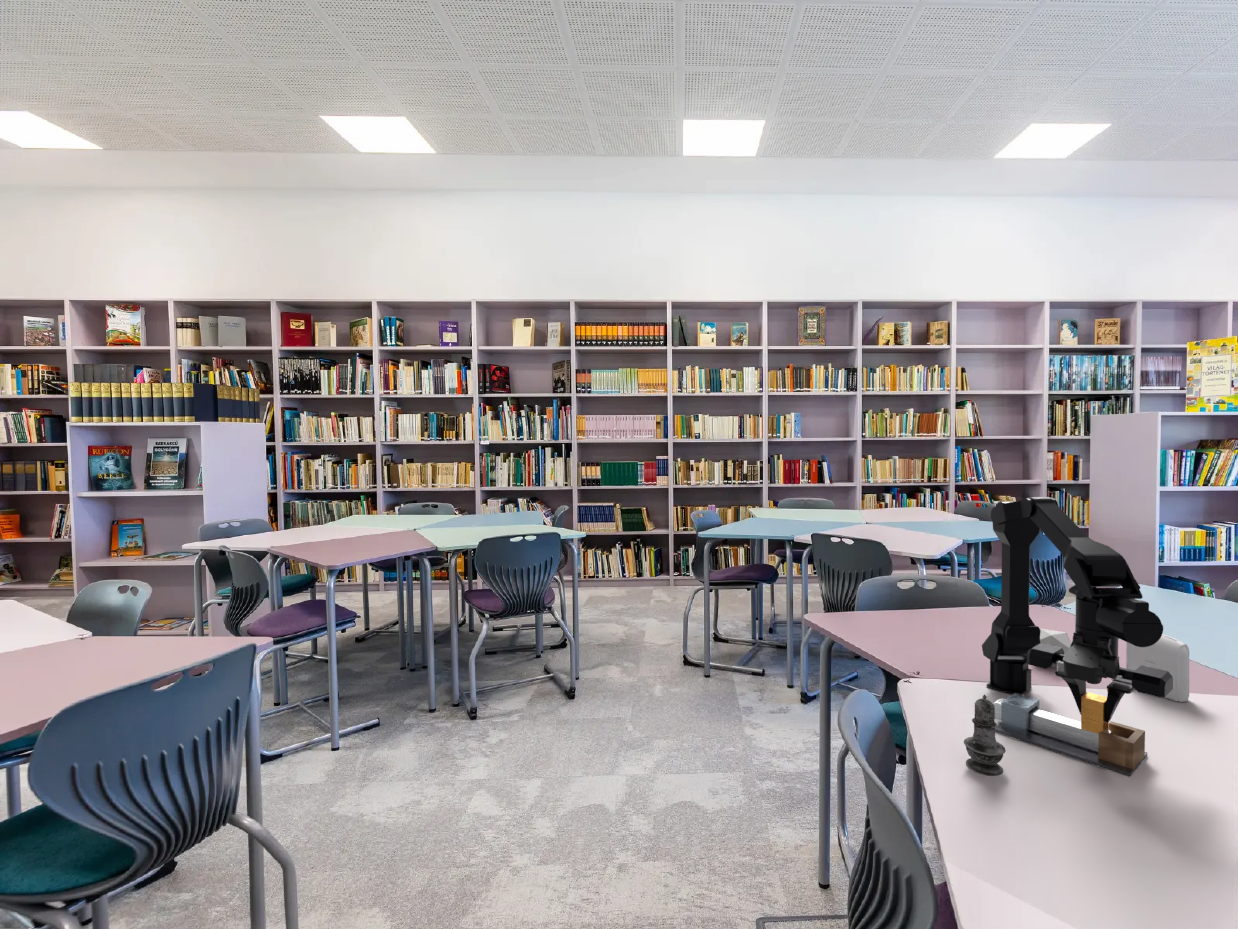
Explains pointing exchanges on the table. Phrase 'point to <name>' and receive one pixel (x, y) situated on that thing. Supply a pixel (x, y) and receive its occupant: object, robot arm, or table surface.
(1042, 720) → the silver bar
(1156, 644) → the photo printer
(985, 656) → the robot arm
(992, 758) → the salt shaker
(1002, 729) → the long dark base plate
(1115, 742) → the socket block
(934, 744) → the table surface
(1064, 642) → the die
